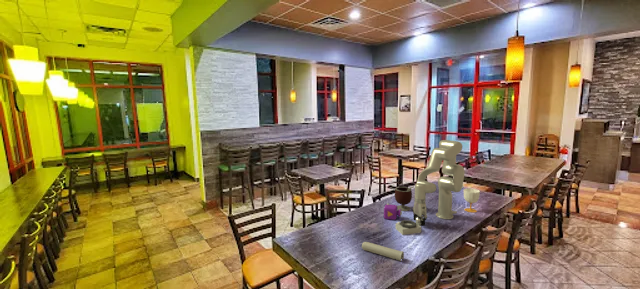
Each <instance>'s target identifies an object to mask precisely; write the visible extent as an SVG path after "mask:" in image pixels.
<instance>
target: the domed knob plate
mask: <svg viewBox="0 0 640 289" xmlns="http://www.w3.org/2000/svg"><path fill="white" fill-rule="evenodd" d="M395 230H396V231H398V232H399V233H400V234H401V235H402V236H405V235H412V234H420V233H422V226H419V225H418V224H417V223H416V221H415V220H410V219H404V220H400V221H397V222H396V223H395Z"/></svg>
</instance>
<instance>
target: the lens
mask: <svg viewBox="0 0 640 289" xmlns="http://www.w3.org/2000/svg"><path fill="white" fill-rule="evenodd" d="M422 218H424V217H422ZM415 223H417V224H418V225H419V226H421V217H419V216H418V215H417V216H416V220H415ZM421 227H422V226H421Z"/></svg>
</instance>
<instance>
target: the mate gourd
mask: <svg viewBox="0 0 640 289" xmlns="http://www.w3.org/2000/svg"><path fill="white" fill-rule="evenodd" d="M414 188H415V185H414V186H411V187H407V186H398V187H396V188H394V190H395V191H394V199H395V202H396V203H397V210H399V209H401V211H402V212H410V210H411V207H410V206H408V205H409V204H410V203H411V202H412V198H413V193H412V189H414ZM398 204H399V205H398Z"/></svg>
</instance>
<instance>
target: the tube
mask: <svg viewBox="0 0 640 289" xmlns="http://www.w3.org/2000/svg"><path fill="white" fill-rule="evenodd" d="M361 249H362V250H363V251H366V252H370V253H372V254H376V255H379V256H382V257H385V258H388V259H389V258H390V259H393V260H395V259H396V261H400V262H401V259H403V260H404V257H405V253H404V251H401V250H397V249H395V248H391V247H386V246H383V245H379V244H376V243H372V242H368V241H364V242H362V244H361Z"/></svg>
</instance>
